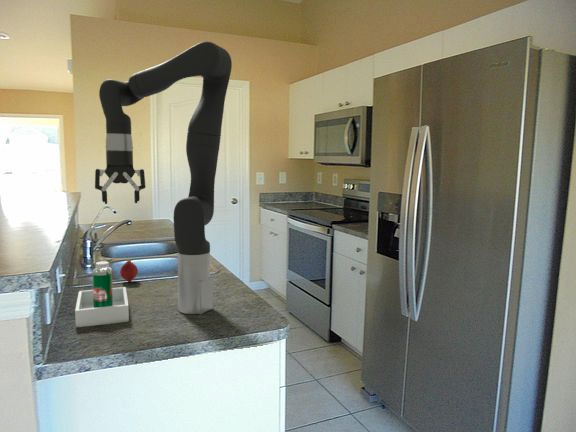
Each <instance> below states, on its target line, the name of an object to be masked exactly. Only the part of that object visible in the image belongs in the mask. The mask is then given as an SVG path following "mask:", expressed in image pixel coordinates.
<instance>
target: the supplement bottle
mask: <svg viewBox="0 0 576 432" xmlns="http://www.w3.org/2000/svg"><path fill="white" fill-rule="evenodd" d="M99 268H109V269H110V271H111V273H112V274H113V269H112V267H110V263H109V261H105V260H104V261H103V260H102V261H97V262H95V268H94V269H93V272H94V270H95V269H99ZM93 272H92V273H93ZM113 284H114V283H112V288H114V286H113Z"/></svg>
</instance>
